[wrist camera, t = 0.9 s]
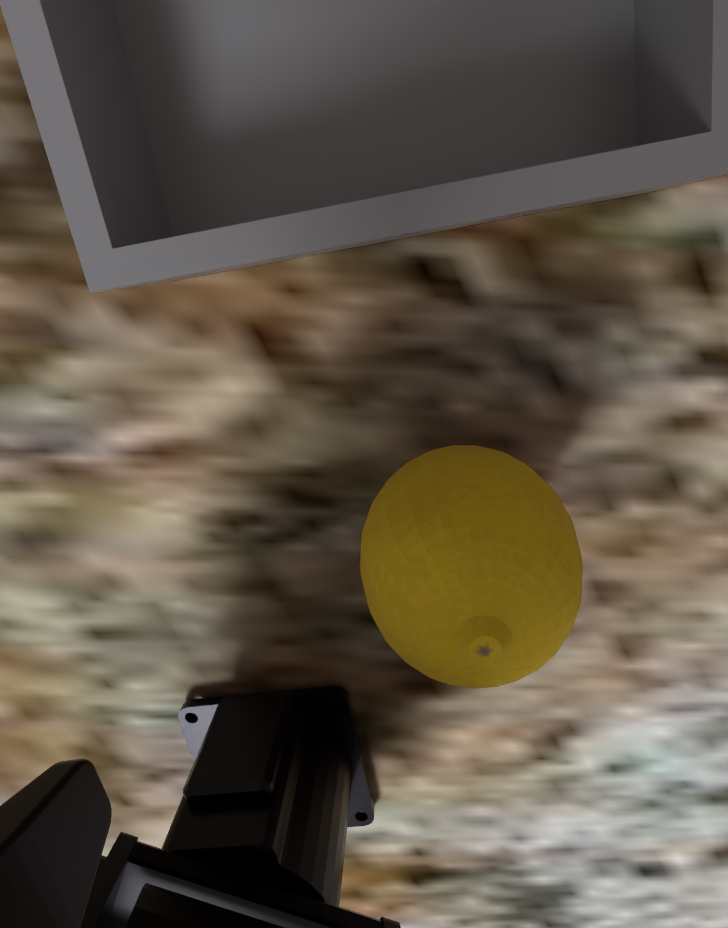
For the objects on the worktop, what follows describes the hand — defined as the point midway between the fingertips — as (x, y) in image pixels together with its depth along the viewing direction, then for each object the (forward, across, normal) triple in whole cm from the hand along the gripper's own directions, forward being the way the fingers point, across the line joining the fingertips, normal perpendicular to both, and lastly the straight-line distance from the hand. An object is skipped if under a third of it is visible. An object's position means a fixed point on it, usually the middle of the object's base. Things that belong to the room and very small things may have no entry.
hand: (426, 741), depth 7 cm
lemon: (+12, -1, +2) cm, 12 cm away
